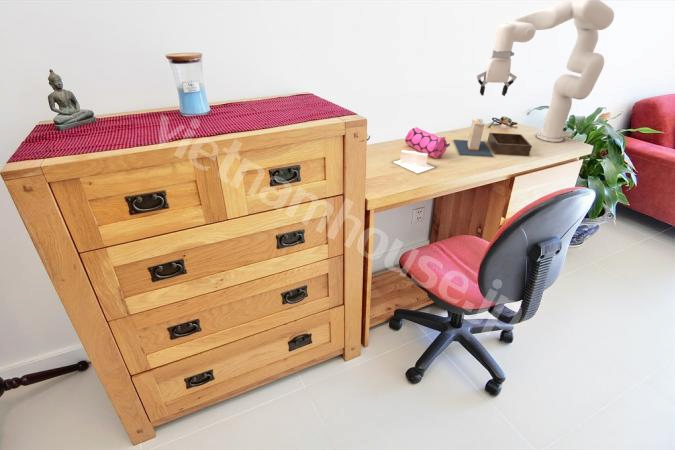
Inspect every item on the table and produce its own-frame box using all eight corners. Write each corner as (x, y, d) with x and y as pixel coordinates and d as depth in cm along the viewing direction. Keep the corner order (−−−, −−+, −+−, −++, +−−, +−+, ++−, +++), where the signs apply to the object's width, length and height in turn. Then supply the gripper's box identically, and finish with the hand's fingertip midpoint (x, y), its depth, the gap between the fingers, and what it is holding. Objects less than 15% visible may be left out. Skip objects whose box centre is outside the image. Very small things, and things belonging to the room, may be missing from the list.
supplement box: (478, 150, 178) (485, 124, 171) (468, 150, 179) (474, 123, 172) (476, 145, 185) (482, 118, 178) (466, 144, 186) (472, 118, 179)
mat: (483, 142, 190) (483, 141, 190) (492, 156, 173) (493, 156, 173) (453, 140, 191) (454, 139, 191) (460, 155, 174) (460, 154, 174)
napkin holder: (392, 162, 166) (393, 150, 163) (409, 156, 172) (411, 144, 169) (417, 173, 156) (419, 160, 153) (435, 167, 162) (437, 154, 159)
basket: (518, 143, 188) (521, 134, 186) (528, 156, 174) (532, 145, 172) (487, 142, 190) (489, 132, 187) (494, 154, 176) (497, 144, 173)
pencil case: (448, 156, 173) (452, 135, 167) (434, 160, 168) (437, 139, 162) (415, 142, 187) (418, 123, 182) (401, 146, 183) (403, 126, 177)
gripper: (519, 54, 165) (509, 93, 175) (479, 53, 167) (471, 92, 176) (524, 56, 159) (514, 97, 168) (482, 56, 161) (475, 96, 170)
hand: (492, 95), depth 172 cm, fingers open, 9 cm apart
